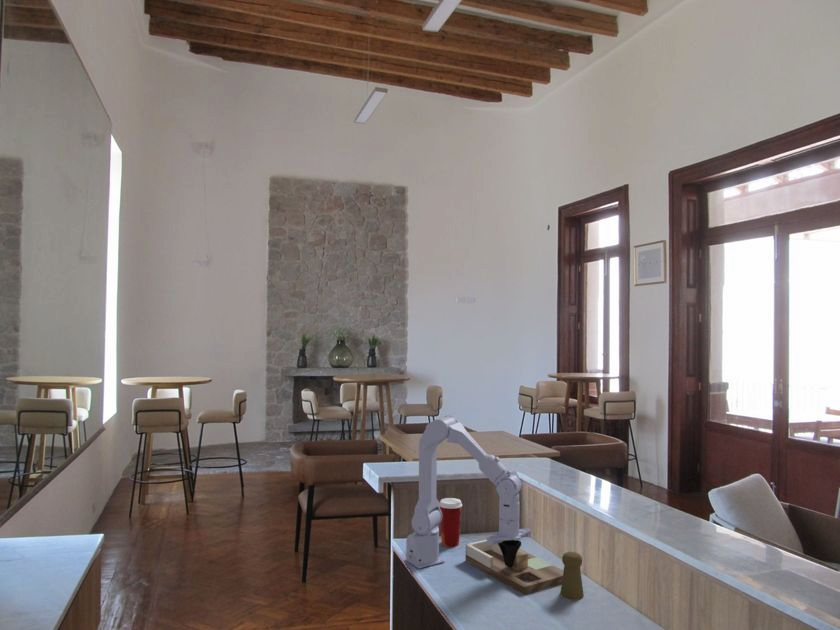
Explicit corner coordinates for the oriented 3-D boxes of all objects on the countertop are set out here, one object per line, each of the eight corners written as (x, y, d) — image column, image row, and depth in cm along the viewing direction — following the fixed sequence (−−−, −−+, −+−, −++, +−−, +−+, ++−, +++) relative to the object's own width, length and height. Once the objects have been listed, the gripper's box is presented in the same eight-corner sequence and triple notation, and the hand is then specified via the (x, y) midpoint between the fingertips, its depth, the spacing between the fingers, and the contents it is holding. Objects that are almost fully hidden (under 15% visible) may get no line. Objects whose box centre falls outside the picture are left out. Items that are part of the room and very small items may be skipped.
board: (524, 594, 165) (524, 587, 165) (465, 560, 187) (465, 554, 187) (570, 580, 174) (570, 573, 174) (509, 550, 196) (509, 543, 196)
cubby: (490, 568, 177) (490, 557, 177) (465, 554, 187) (465, 544, 187) (517, 561, 182) (517, 550, 182) (491, 548, 193) (491, 538, 193)
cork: (570, 601, 161) (571, 559, 161) (555, 592, 166) (555, 551, 166) (588, 597, 164) (588, 555, 164) (573, 588, 169) (573, 547, 169)
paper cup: (467, 543, 201) (467, 500, 201) (451, 550, 196) (452, 505, 196) (448, 537, 207) (448, 495, 207) (433, 543, 201) (433, 500, 201)
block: (517, 570, 175) (517, 556, 175) (507, 565, 179) (507, 552, 179) (527, 567, 177) (527, 553, 177) (518, 563, 181) (518, 549, 181)
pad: (535, 576, 176) (535, 569, 176) (519, 568, 182) (519, 561, 182) (552, 572, 180) (552, 565, 180) (536, 563, 186) (536, 557, 186)
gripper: (498, 526, 169) (497, 576, 169) (538, 517, 177) (537, 565, 177) (482, 519, 175) (482, 567, 175) (521, 511, 183) (521, 557, 183)
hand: (509, 565), depth 176 cm, fingers closed
